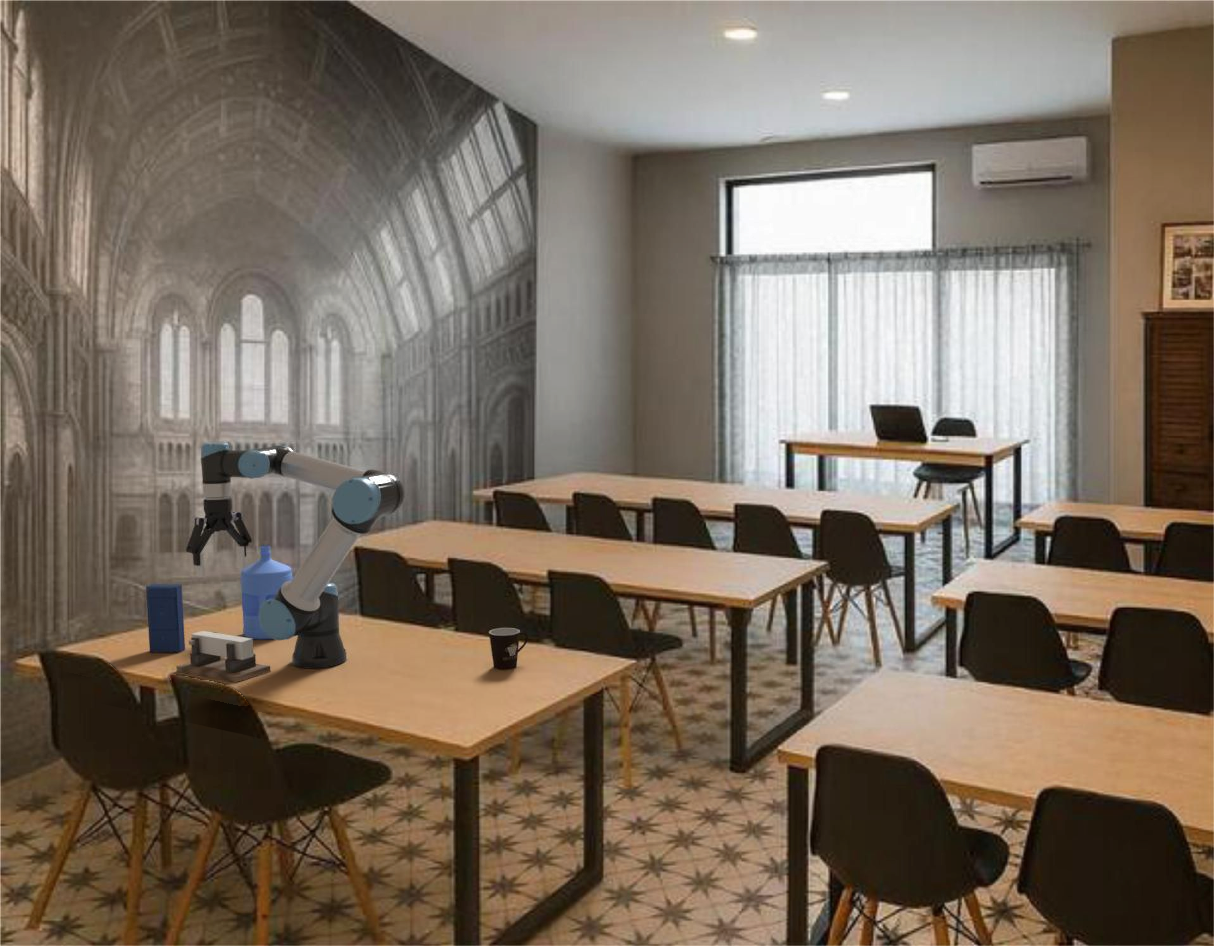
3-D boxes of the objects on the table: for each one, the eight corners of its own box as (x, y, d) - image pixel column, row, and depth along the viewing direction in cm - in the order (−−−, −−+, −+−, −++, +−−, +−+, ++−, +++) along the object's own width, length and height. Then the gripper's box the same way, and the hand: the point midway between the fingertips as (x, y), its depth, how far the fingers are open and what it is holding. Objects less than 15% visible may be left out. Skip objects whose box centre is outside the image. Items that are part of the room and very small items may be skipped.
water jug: (250, 628, 367) (246, 543, 364) (299, 627, 368) (295, 542, 365) (237, 640, 351) (233, 551, 349) (288, 639, 352) (284, 550, 349)
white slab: (253, 656, 314) (252, 638, 313) (242, 659, 310) (241, 642, 310) (203, 648, 324) (202, 630, 323) (192, 651, 320) (191, 633, 320)
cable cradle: (270, 671, 317) (268, 638, 316) (237, 682, 306) (235, 648, 305) (210, 660, 328) (209, 628, 327) (176, 671, 318) (174, 638, 317)
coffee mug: (492, 672, 313) (491, 636, 312) (487, 663, 321) (486, 629, 320) (534, 668, 316) (533, 633, 315) (527, 660, 324) (527, 626, 323)
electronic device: (186, 648, 343) (183, 583, 341) (178, 653, 338) (175, 587, 336) (156, 648, 344) (153, 583, 342) (148, 652, 339) (144, 587, 336)
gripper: (245, 492, 329) (248, 564, 331) (170, 502, 308) (174, 579, 311) (262, 493, 325) (265, 566, 327) (187, 503, 304) (191, 581, 306)
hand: (221, 572), depth 319 cm, fingers open, 13 cm apart
